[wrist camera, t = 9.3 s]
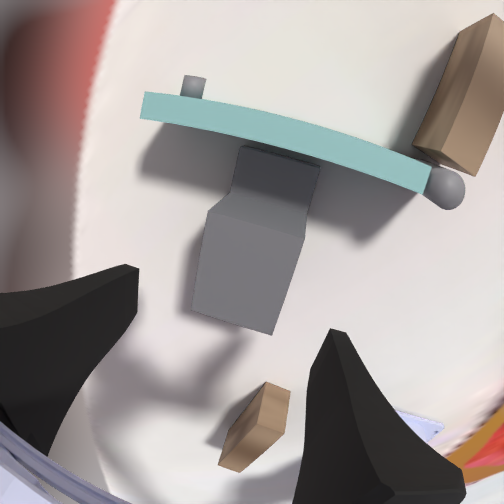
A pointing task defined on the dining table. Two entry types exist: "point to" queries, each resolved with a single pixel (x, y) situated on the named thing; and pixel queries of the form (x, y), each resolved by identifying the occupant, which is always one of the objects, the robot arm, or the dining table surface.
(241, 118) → the door
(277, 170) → the door stop
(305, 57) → the dining table surface
